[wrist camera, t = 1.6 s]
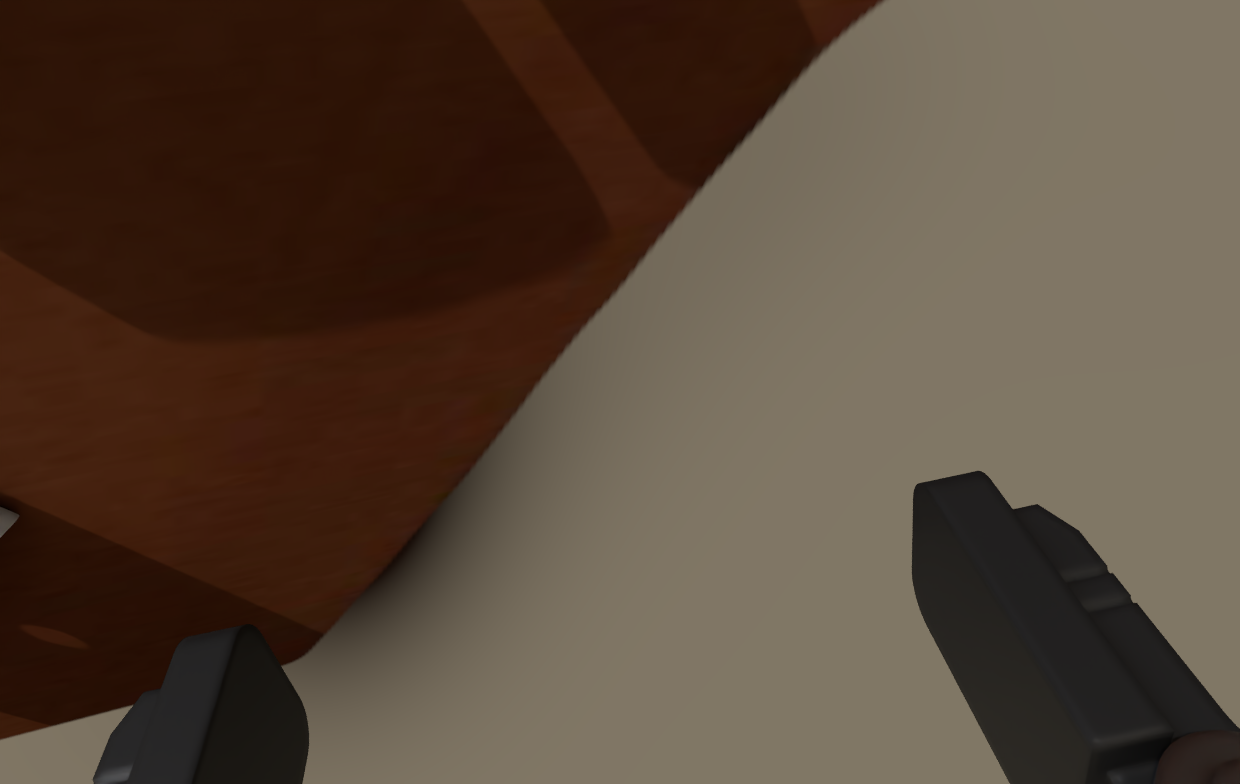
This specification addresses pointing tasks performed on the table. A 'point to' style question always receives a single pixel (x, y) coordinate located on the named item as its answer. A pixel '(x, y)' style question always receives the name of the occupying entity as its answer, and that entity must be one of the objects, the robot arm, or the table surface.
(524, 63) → the table surface
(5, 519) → the grey faceted piece
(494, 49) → the table surface
